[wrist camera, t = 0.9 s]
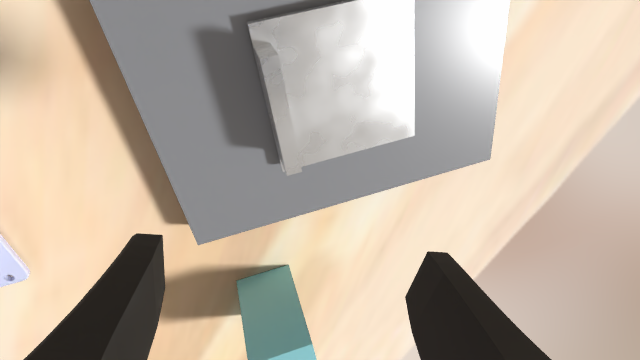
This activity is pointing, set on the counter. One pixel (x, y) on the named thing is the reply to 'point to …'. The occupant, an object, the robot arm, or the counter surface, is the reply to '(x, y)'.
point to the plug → (273, 317)
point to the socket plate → (253, 119)
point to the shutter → (337, 78)
